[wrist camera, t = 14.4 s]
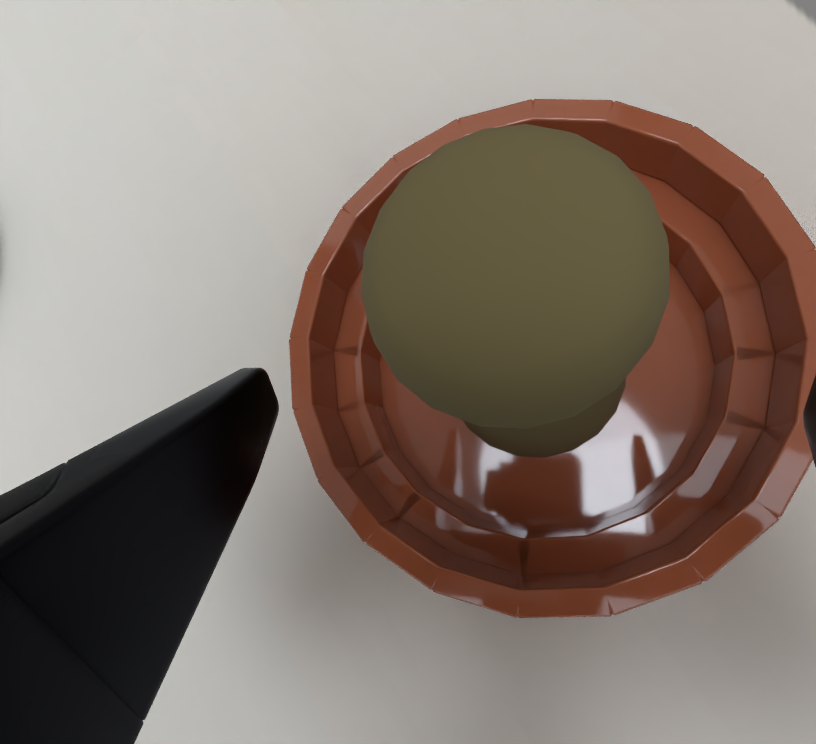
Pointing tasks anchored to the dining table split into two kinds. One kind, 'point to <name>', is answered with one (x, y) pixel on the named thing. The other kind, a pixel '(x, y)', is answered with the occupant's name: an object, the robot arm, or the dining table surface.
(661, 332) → the bowl
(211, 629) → the dining table surface
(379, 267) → the olive game pawn
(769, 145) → the dining table surface
